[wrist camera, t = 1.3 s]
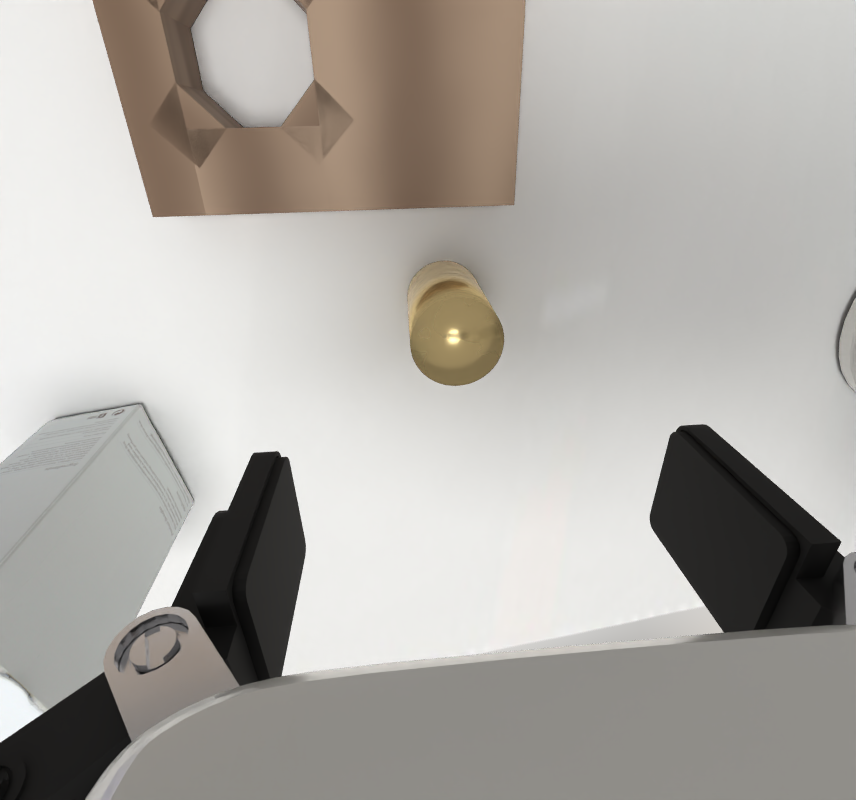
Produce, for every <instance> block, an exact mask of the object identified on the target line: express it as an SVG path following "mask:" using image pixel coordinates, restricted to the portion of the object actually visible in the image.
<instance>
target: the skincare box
mask: <svg viewBox="0 0 856 800" xmlns="http://www.w3.org/2000/svg"><path fill="white" fill-rule="evenodd" d="M193 503H194V500H193V498H192V497H191V495H190V493H189V491H188V489H187V488H186V486H185V484H184V482H183V480H182V478H181V477H180V475H179V473H178V471H177V469H176V467H175V466H174V464H173V462H172V460H171V458H170V456H169V454H168V453H167V451H166V449H165V447H164V445H163V443H162V442H161V440H160V438H159V436H158V434H157V433H156V431H155V429H154V428H153V426H152V424H151V422H150V420H149V418H148V416H147V414H146V412H145V410H144V408H143V406H142V405H140V404H138V405H132V406H126V407H121V408H116V409H110V410H104V411H98V412H92V413H85V414H79V415H74V416H68V417H62V418H57V419H54V420H52V421H49V422H47V423H46V424H45V425H43V426H42V427H41V428H40V429H39V430H38V431H37V432H36V433H34V434H33V435H32V436H31V437H30V438H29V439H28V440H26V441H25V442H24V443H23V444H22V445H21V446H20V447H19V448H17V449H16V450H15V451H14V452H13V453H12V454H11V455H10V456H8V457H7V458H6V459H5V460H4V461H3V462H2V463H1V464H0V742H2V741H3V740H5V739H6V738H8V737H9V736H10V735H12V734H13V733H15V732H16V731H18V730H19V729H21V728H22V727H24V726H25V725H27V724H28V723H30V722H31V721H32V720H34V719H35V718H37V717H38V716H40V715H41V714H43V713H44V712H46V711H47V710H49V709H50V708H52V707H53V706H54V705H56V704H57V703H59V702H60V701H62V700H63V699H65V698H66V697H68V696H69V695H71V694H72V693H74V692H75V691H76V690H78V689H79V688H81V687H82V686H84V685H85V684H87V683H88V682H90V681H91V680H93V679H94V678H96V677H97V676H98V675H100V674H101V673H103V672H104V665H103V660H104V657H105V654H106V650H107V648H108V647H109V645H110V644H111V642H112V640H113V639H114V637H115V636H116V635H117V634H118V633H119V632H120V631H121V630H122V629H123V628H124V627H125V626H126V625H128V624H129V623H131V622H132V621H134V620H135V619H136V617H137V615H138V613H139V611H140V609H141V607H142V605H143V603H144V601H145V599H146V597H147V594H148V592H149V591H150V589H151V587H152V585H153V583H154V581H155V579H156V577H157V575H158V573H159V571H160V569H161V567H162V565H163V563H164V561H165V559H166V557H167V555H168V553H169V551H170V549H171V547H172V545H173V543H174V540H175V538H176V537H177V535H178V533H179V531H180V529H181V527H182V525H183V523H184V521H185V519H186V517H187V515H188V513H189V511H190V509H191V507H192V505H193Z"/></svg>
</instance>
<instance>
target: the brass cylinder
mask: <svg viewBox="0 0 856 800" xmlns="http://www.w3.org/2000/svg"><path fill="white" fill-rule="evenodd" d="M407 302H408V317H409V332H410V347H411V353H412V357H413V359H414V362H415V363H416V365H417V367H418V368H419V369H420V371H421V372H422V373H423V374H424V375H425V376H427V377H428V378H430V379H431V380H433V381H435V382H438V383H440V384H444V385H451V386H459V385H465V384H469V383H472V382H475V381H477V380H479V379H481V378H482V377H484V376H485V375H486V374H488V373H489V372H490V371H491V370H492V369H493V368H494V366H495V365H496V364H497V362H498V360H499V358H500V356H501V354H502V350H503V345H504V333H503V328H502V325H501V323H500V321H499V319H498V317H497V315H496V314H495V312H494V310H493V309H492V307H491V305H490V303H489V302H488V300H487V298H486V297H485V295H484V293H483V292H482V290H481V288H480V286H479V285H478V283H477V281H476V280H475V278H474V276H473V275H472V274H471V273H470V271H469V270H467V269H466V268H465V267H463V266H462V265H460V264H458V263H455V262H451V261H438V262H434V263H431V264H428V265H427V266H425V267H423V268H422V269H421V270H420V271H419V272H417V274H416V275H415V276H414V277H413V279H412V281H411V283H410V285H409V289H408V294H407Z"/></svg>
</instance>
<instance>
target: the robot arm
mask: <svg viewBox="0 0 856 800" xmlns="http://www.w3.org/2000/svg"><path fill="white" fill-rule="evenodd" d="M839 361H840V366H841V371H842V373H843V375H844V377H845V379H846V381H847V383H848V385H849V386H850V387H851V388H852V389H853V390H854V391H855V392H856V298H855V299H854V301H853V303H852V306H851V308H850V310H849V312H848V314H847V317H846V319H845V321H844V325H843V329H842V333H841V337H840V343H839ZM650 524H651V527H652V529H653V531H654V532H655V534H656V535H657V537H658V538H659V540H660V541H661V542H662V544H663V545H664V547H665V548H666V550H667V551H668V552H669V554H670V555H671V557H672V558H673V560H674V561H675V563H676V564H677V565H678V567H679V568H680V570H681V571H682V573H683V574H684V576H685V577H686V578H687V580H688V581H689V583H690V584H691V586H692V587H693V589H694V590H695V591H696V593H697V594H698V596H699V597H700V599H701V600H702V601H703V603H704V604H705V606H706V607H707V608H708V610H709V611H710V613H711V614H712V616H713V617H714V619H715V620H716V622H717V623H718V625H719V626H720V627H721V629H722V630H723V632H724V633H716V634H703V635H691V636H680V637H667V638H655V639H643V640H632V641H621V642H611V643H600V644H599V643H598V644H587V645H576V646H564V647H553V648H542V649H531V650H520V651H509V652H498V653H487V654H477V655H466V656H456V657H445V658H435V659H424V660H413V661H403V662H392V663H383V664H375V665H366V666H357V667H348V668H339V669H330V670H321V671H313V672H307V673H300V674H294V675H288V676H282V671H283V665H284V660H285V655H286V650H287V645H288V640H289V635H290V630H291V625H292V620H293V615H294V610H295V605H296V600H297V595H298V590H299V585H300V580H301V575H302V570H303V565H304V559H305V552H306V544H305V537H304V532H303V527H302V522H301V517H300V512H299V507H298V502H297V497H296V492H295V487H294V482H293V477H292V472H291V467H290V462H289V459H288V457H281V455H280V453H279V452H278V451H276V452H260V453H253V455H252V456H251V458H250V461H249V463H248V465H247V468H246V470H245V472H244V475H243V477H242V479H241V481H240V484H239V486H238V488H237V491H236V493H235V495H234V498H233V500H232V502H231V504H230V507H229V509H228V510H227V511H218V512H217V513H216V514H215V515H214V517H213V518H212V521H211V523H210V525H209V527H208V529H207V531H206V533H205V536H204V538H203V540H202V542H201V544H200V546H199V548H198V551H197V553H196V555H195V557H194V559H193V561H192V563H191V566H190V568H189V570H188V572H187V574H186V576H185V578H184V581H183V583H182V585H181V587H180V589H179V591H178V593H177V596H176V598H175V600H174V602H173V604H172V606H171V607H164V608H160V609H156V610H152V611H150V612H148V613H146V614H144V615H142V616H140V617H138V618H136V619H135V620H134V621H132V622H131V623H129V624H128V625H126V626H125V627H124V628H123V629H122V630H121V631H120V632H119V633H118V634H117V635H116V636H115V637H114V639H113V640H112V642H111V644H110V645H109V647H108V648H107V650H106V654H105V657H104V660H103V665H104V672H103V673H101V674H100V675H98V676H97V677H96V678H94V679H93V680H91V681H90V682H88V683H87V684H85V685H84V686H82V687H81V688H79V689H78V690H76V691H75V692H74V693H72V694H71V695H69V696H68V697H66V698H65V699H63V700H62V701H60V702H59V703H57V704H56V705H54V706H53V707H52V708H50V709H49V710H47V711H46V712H44V713H43V714H41V715H40V716H38V717H37V718H35V719H34V720H32V721H31V722H30V723H28V724H27V725H25V726H24V727H22V728H21V729H19V730H18V731H16V732H15V733H13V734H12V735H10V736H9V737H8V738H6V739H5V740H3V741H2V742H0V800H856V552H853V553H850V554H849V555H847V556H846V557H843V556H842V555H841V554H840V553H839V552H838V551H837V550H838V548H839V546H840V544H841V541H840V540H839V539H838V538H836V537H835V536H834V535H833V534H832V533H831V532H830V531H828V530H827V529H826V528H825V527H824V526H823V525H822V524H820V523H819V522H818V521H817V520H816V519H815V518H814V517H812V516H811V515H810V514H809V513H808V512H807V511H805V510H804V509H803V508H802V507H801V506H800V505H799V504H797V503H796V502H795V501H794V500H793V499H792V498H791V497H789V496H788V495H787V494H786V493H785V492H784V491H782V490H781V489H780V488H779V487H778V486H777V485H776V484H774V483H773V482H772V481H771V480H770V479H769V478H768V477H766V476H765V475H764V474H763V473H762V472H761V471H760V470H758V469H757V468H756V467H755V466H754V465H753V464H751V463H750V462H749V461H748V460H747V459H746V458H745V457H743V456H742V455H741V454H740V453H739V452H738V451H737V450H735V449H734V448H733V447H732V446H731V445H730V444H728V443H727V442H726V441H725V440H724V439H723V438H722V437H720V436H719V435H718V434H717V433H716V432H715V431H714V430H712V429H711V428H710V427H709V426H707V425H703V424H701V425H685V426H680V427H679V428H678V429H677V430H676V432H673V433H672V434H671V435H670V438H669V442H668V446H667V450H666V454H665V457H664V461H663V465H662V469H661V473H660V477H659V481H658V485H657V489H656V493H655V497H654V501H653V505H652V509H651V513H650Z"/></svg>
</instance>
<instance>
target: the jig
mask: <svg viewBox="0 0 856 800" xmlns="http://www.w3.org/2000/svg"><path fill="white" fill-rule="evenodd" d="M294 1H295V2H296V3H297V4H298V5H299V6H300V7H301V9H302V10H303V11H304V12H305V13H306V14H307V21H308V29H309V38H310V47H311V55H312V64H313V73H314V81H313V82H312V84H311V85H310V87H309V88H308V89H307V91H306V92H305V94H304V95H303V96H302V98H301V99H300V101H299V102H298V103H297V105H296V106H295V108H294V109H293V110H292V112H291V113H290V115H289V116H288V117H287V119H286V120H285V122H284V123H283V124H282V126H281V127H254V128H243V127H242V126H241V125H240V124H239V123H238V122H237V121H235V120H234V119H233V118H232V117H231V116H230V115H229V114H228V113H227V112H226V111H225V110H224V109H222V108H221V107H220V106H219V105H218V104H217V103H216V102H215V101H214V100H213V99H212V98H210V97H209V96H208V95H207V94H206V93H205V92H204V91H203V87H202V82H201V78H200V73H199V68H198V63H197V58H196V53H195V49H194V44H193V39H192V34H191V29H190V28H191V27H192V25H193V23H194V22H195V20H196V18H197V17H198V15H199V13H200V12H201V10H202V8H203V7H204V5H205V3H206V2H207V0H93V4H94V8H95V11H96V15H97V18H98V22H99V25H100V29H101V33H102V36H103V40H104V43H105V47H106V50H107V54H108V58H109V61H110V65H111V68H112V72H113V76H114V79H115V83H116V86H117V90H118V93H119V97H120V101H121V104H122V108H123V111H124V115H125V119H126V122H127V126H128V129H129V133H130V136H131V140H132V144H133V147H134V151H135V154H136V158H137V161H138V165H139V169H140V172H141V176H142V179H143V183H144V187H145V190H146V194H147V197H148V201H149V204H150V208H151V212H152V215H153V217H170V216H200V215H230V214H260V213H289V212H319V211H349V210H379V209H408V208H438V207H468V206H498V205H514V198H515V180H516V162H517V144H518V126H519V108H520V90H521V72H522V54H523V36H524V18H525V0H294Z"/></svg>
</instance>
